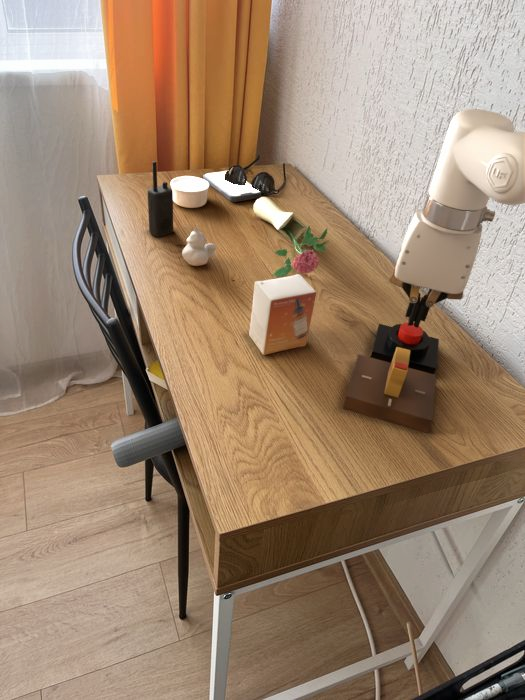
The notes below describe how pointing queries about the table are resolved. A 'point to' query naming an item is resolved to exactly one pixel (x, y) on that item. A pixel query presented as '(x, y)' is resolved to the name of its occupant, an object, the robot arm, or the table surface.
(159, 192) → the walkie-talkie
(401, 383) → the yellow block
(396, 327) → the button box
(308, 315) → the small box
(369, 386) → the plate
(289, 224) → the toppled flower pot
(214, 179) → the phone case
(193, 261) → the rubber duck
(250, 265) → the table surface
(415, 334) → the button
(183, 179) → the ramekin
